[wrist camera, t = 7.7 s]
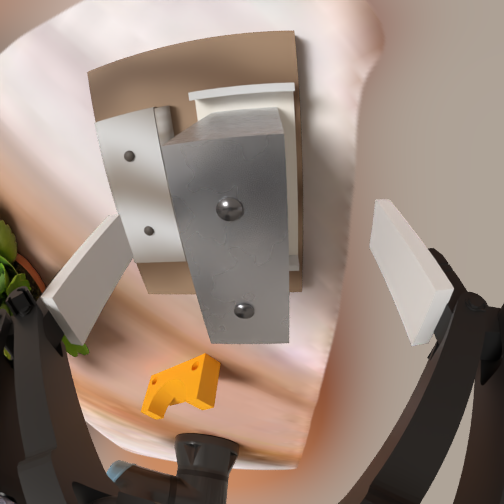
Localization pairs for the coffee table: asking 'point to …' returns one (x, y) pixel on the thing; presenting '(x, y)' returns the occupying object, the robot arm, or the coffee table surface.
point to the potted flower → (22, 280)
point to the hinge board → (170, 125)
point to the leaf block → (234, 222)
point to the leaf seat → (284, 101)
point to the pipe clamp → (183, 386)
